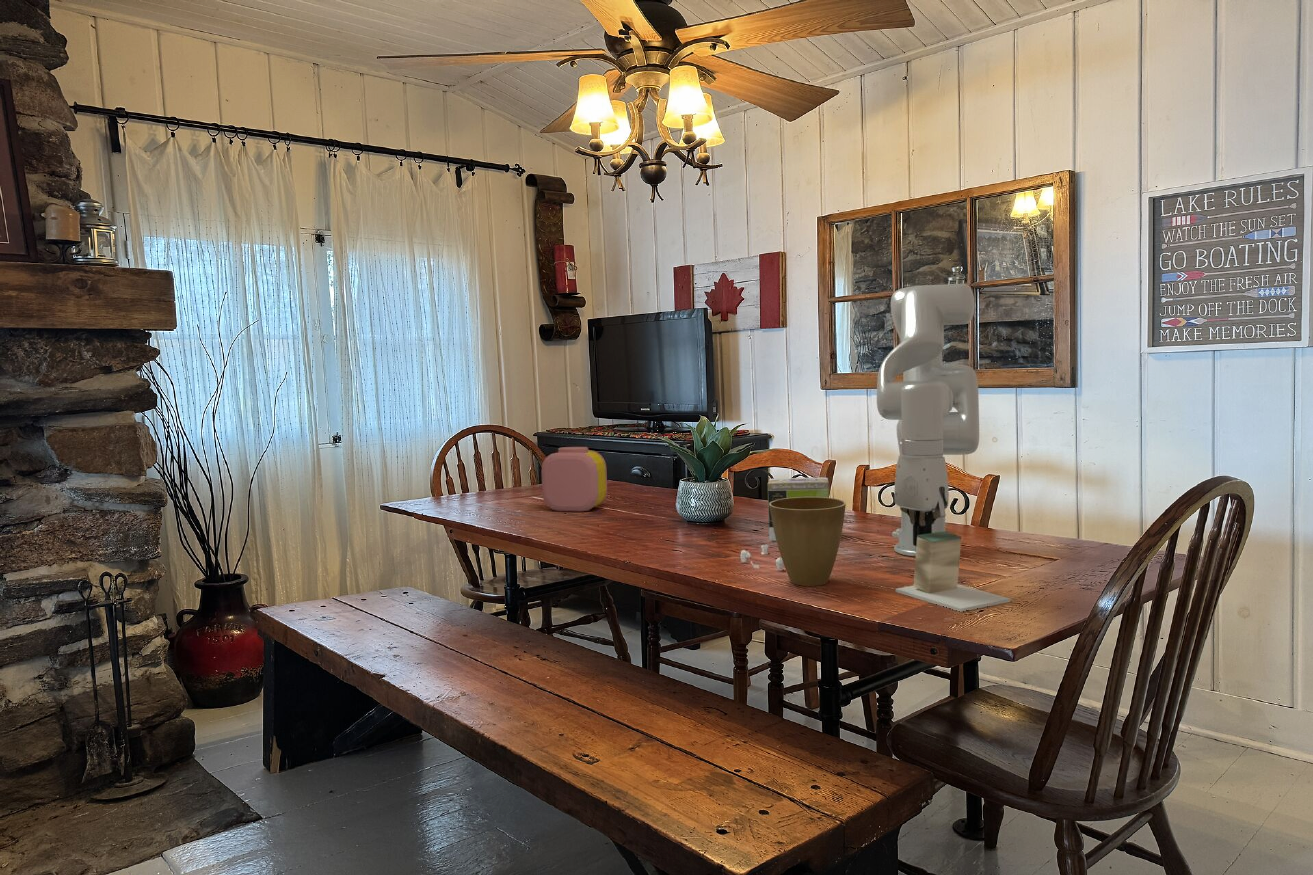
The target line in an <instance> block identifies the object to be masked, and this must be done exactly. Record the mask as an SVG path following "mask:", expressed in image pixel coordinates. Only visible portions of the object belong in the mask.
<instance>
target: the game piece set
mask: <svg viewBox="0 0 1313 875" xmlns="http://www.w3.org/2000/svg"><path fill="white" fill-rule="evenodd" d="M760 548H761V553H760V554H761V555H769V553H768V549H769V545H768V544H761V545H760ZM739 558H740V562H741V563H742V564H745V563H746V561H747V559H750V558H751V553H749V550H747V551H746V550H745V549H743V550H741V552H740V557H739ZM775 563H776V564H775V565H776V567H777V571H779V572H780V571H781V572H782V571H783V568H784V567H785V566H784V563H783V561H782V558H781V557H778V558H776V559H775ZM750 564H751V565H752V566H753V567H752V568H753V569H760V568H761V567H760V566H759V565H756V564H754V563H753V561H750Z"/></svg>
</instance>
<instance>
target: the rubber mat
mask: <svg viewBox="0 0 1313 875" xmlns="http://www.w3.org/2000/svg"><path fill="white" fill-rule="evenodd" d="M895 593H898V594H901V595H904V596H908V597H912V598H913V599H918V600H921V601H923V602H928V603H930V604H933V605H936V604H937V606H939V607H943V606H944V607H943V608H946V607H947V608H946V609H949V608H951V609H950V610H952V609H953V610H952V611H956V610H957V611H956V612H959V611H960V612H959V613H963V611H964V612H967V611H966V610H969V611H973V610H977V608H978V609H982V608H988V607H993V606H998V605H1002V604H1006V603H1010V602H1011V598H1010V597H1007V596H1006V597H1005V596H1004V595H1003V596H1002V595H998V594H995V593H992V592H988V591H984V590H980V589H977V588H973V587H970V586H967V585H962V584H957V589H951V590H946V591H941V592H935V593H930V594H928V593H926V592H924V591H922V590H919V589H917V588H915V587H913V585H909V586H903V587H898V588H895ZM987 606H988V607H987Z"/></svg>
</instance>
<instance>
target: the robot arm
mask: <svg viewBox="0 0 1313 875" xmlns="http://www.w3.org/2000/svg"><path fill="white" fill-rule="evenodd" d="M975 304H976V303H975V296H974V292H973V290H972V288H971V287H970V286H969V285H968V284H966V283H952V284H951V283H950V284H947V283H946V284H929V285H928V284H926V285H913V286H906V287H903V288H899V289H897V290H896V291H894V292H893V294H892V295H891V298H890V311H891V317H892V321H893V324H894V327H895V330H896V333H897V335H898V337H899V341H900V343H899V344H897V346H895V347H894V348H893V349H892V350H891V351H889V353H888V354H887V355H886V356H885V357H884V359H883V361H882V363H881V365H880V366H879V370H878V373H877V381H876V382H877V384H876V385H877V386H876V408H877V411H878V413H879V415H880V416H881V417H882V418H883V419H885V420H889V421H897V424H896V437H897V445H898V451H899V455H898V458H897V463H896V467H895V468H896V469H895V474H894V476H895V477H894V496H893V497H894V504H895V505H896V506H898V507H899V508H900V512H901V513H900V514H901V515H900V519H901V520H900V521H901V522H900V523H901V524H900V527H901V528H897V529H896V530H895V531H894V530H893V532H892V533H891V536H892V537H893V538H897V539H898V542H897V543H896V544H895V545H894V547H893V548H894V552H896V553H898V554H900V555H903V556H904V555H905V556H909V557H916V546H917V535H922V534H929V533H936V532H943V531H946V516H947V514H946V509H947V508H948V507H949V501H950V499H949V495H950V494H949V493H950V492H949V488H950V487H949V479H948V478H949V476H948V468H947V462H946V458H945V456H947V455H948V456H951V455H952V456H958V455H960V456H961V455H962V456H963V455H964V456H966V455H971V454H973V453H975V452H976V451H977V449H978V447H979V443H980V408H979V407H980V405H979V404H980V402H979V401H980V400H979V399H980V398H979V382H978V377H977V374H976V371H975V369H974V368H973V367H972V366H969V365H967V364H944V363H943V350H944V347H945V337H944V336H945V335H944V334H945V333H944V326H949V325H950V326H952V325H953V326H954V325H955V326H956V325H967V324H969V323H970V322H971V321H972V320H973V317H974V314H975ZM901 374H903V377H902V381H894V380H895V379H896V378H897V377H898V376H899V375H901ZM953 409H956V411H952V410H953ZM944 455H945V456H944Z"/></svg>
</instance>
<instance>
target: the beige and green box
mask: <svg viewBox="0 0 1313 875" xmlns="http://www.w3.org/2000/svg"><path fill="white" fill-rule="evenodd" d="M961 545H962V536H961V535H957V534H955V533H952V532H949V531H946V530H945V531H943V532H936V533H929V534H922V535H917V546H916V556H915V561H914V564H915V565H914V574H913V575H914V576H913V585H912V586H913V587H915V588H917V589H919V590H922V591H924V592H926V593H928V594H930V593H935V592H941V591H946V590H951V589H957V584H958V582H959V572H960V571H959V568H960V559H961V547H962V546H961Z"/></svg>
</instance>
